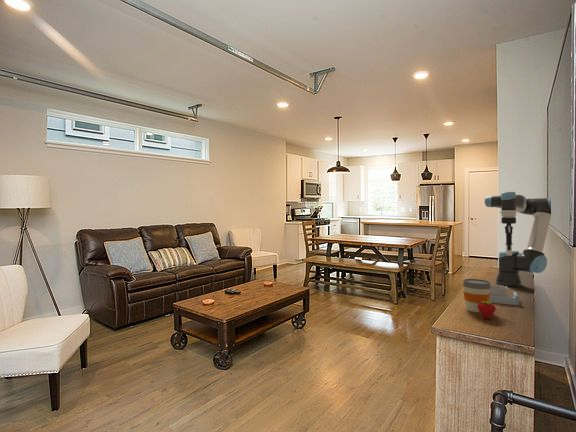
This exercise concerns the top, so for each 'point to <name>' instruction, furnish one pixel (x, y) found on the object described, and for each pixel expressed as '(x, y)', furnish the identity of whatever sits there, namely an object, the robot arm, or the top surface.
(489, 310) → the strawberry
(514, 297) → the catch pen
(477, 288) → the reusable coffee cup
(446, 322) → the top surface
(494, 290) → the teacup
